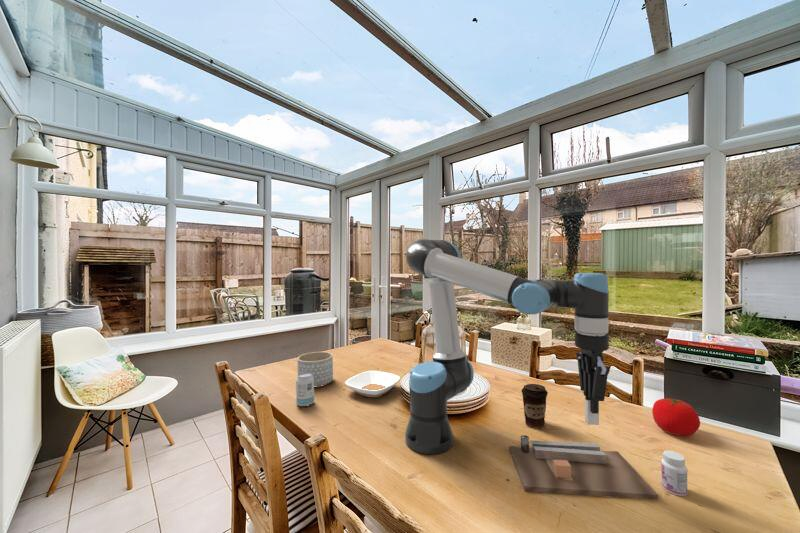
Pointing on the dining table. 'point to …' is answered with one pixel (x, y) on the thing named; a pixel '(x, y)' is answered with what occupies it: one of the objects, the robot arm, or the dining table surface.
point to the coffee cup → (534, 405)
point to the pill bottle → (674, 473)
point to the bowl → (372, 382)
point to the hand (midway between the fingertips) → (592, 423)
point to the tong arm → (570, 455)
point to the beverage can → (304, 389)
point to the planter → (317, 366)
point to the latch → (562, 468)
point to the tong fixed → (556, 445)
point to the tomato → (675, 417)
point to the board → (582, 477)
